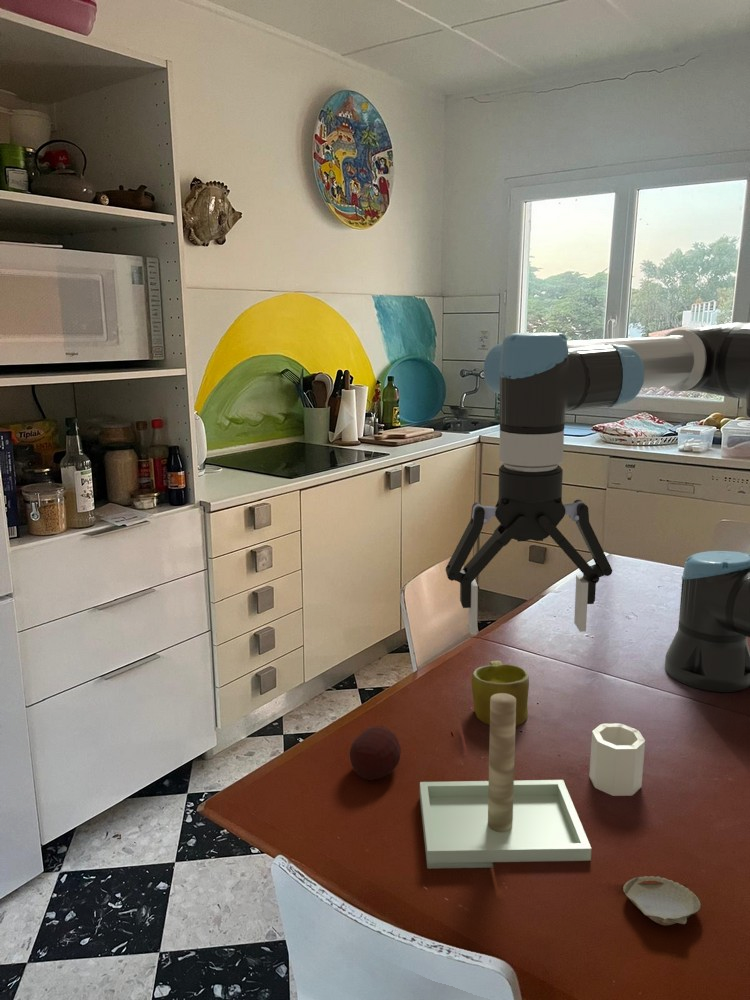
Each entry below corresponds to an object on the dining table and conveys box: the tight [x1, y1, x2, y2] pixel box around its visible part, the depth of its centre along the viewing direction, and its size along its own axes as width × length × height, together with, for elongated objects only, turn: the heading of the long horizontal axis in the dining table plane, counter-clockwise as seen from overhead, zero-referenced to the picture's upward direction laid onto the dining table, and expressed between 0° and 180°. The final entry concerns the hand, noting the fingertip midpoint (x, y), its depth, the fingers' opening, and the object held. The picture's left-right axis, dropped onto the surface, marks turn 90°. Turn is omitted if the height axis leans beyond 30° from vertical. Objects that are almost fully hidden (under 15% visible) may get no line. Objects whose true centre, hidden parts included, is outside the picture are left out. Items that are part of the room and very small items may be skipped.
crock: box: [588, 722, 646, 797], centre depth 109 cm, size 7×7×8 cm
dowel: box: [488, 693, 516, 832], centre depth 98 cm, size 3×3×18 cm
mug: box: [471, 660, 530, 727], centre depth 128 cm, size 12×10×10 cm
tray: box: [419, 779, 593, 870], centre depth 100 cm, size 20×14×2 cm
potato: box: [349, 725, 402, 781], centre depth 113 cm, size 7×10×6 cm
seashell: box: [622, 875, 702, 926], centre depth 87 cm, size 8×3×8 cm
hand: (526, 629), depth 97 cm, fingers open, 13 cm apart
